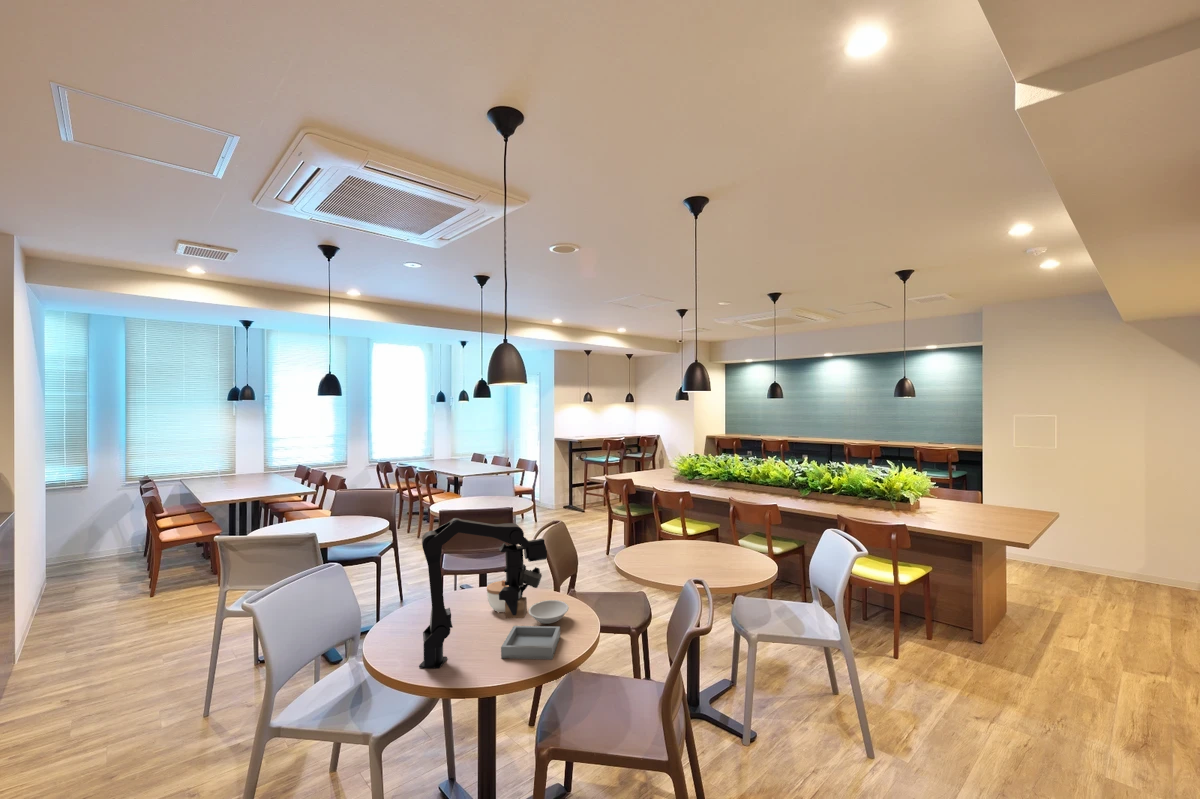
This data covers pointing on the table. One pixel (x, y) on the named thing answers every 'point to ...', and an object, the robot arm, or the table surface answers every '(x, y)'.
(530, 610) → the dish
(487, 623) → the table surface
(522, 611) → the walnut block
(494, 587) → the lidded bowl
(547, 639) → the tray
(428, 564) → the robot arm
